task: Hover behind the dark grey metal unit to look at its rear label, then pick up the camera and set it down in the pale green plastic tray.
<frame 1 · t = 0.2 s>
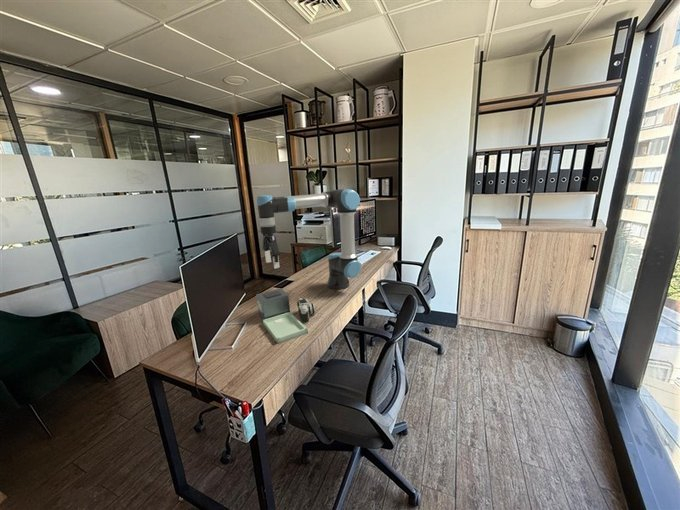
hand: (272, 265, 148), 28 cm above the table, fingers open, 13 cm apart
camera: (307, 316, 149), on the table
unit: (274, 314, 153), on the table
tray: (284, 328, 137), on the table
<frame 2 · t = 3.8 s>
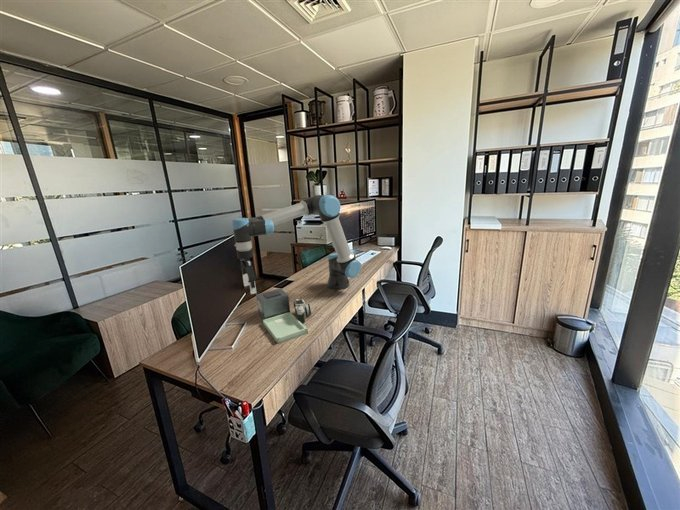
hand: (250, 289, 143), 18 cm above the table, fingers open, 13 cm apart
camera: (303, 317, 148), on the table
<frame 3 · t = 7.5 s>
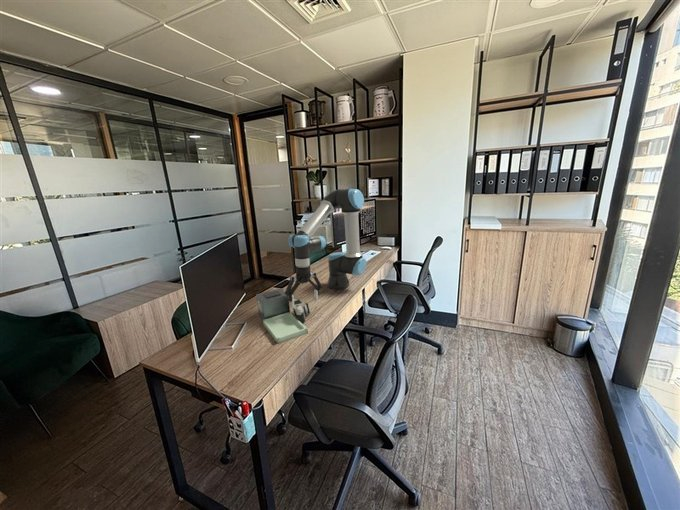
hand: (304, 304, 147), 7 cm above the table, fingers open, 13 cm apart
camera: (302, 317, 148), on the table, touching gripper, tray
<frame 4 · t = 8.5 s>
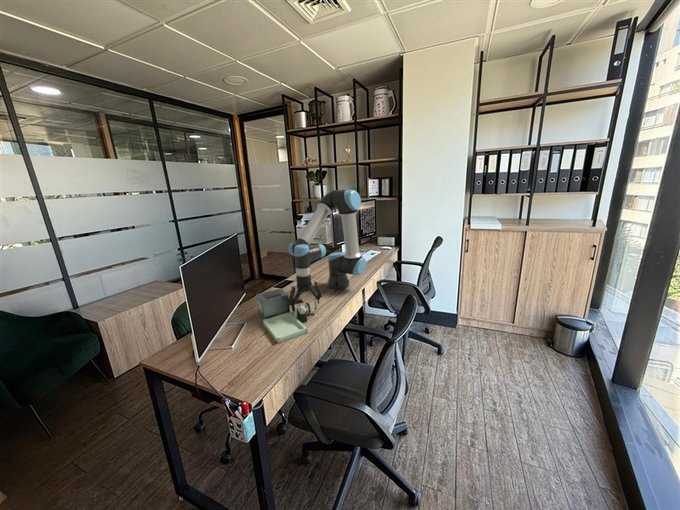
hand: (306, 313, 148), 2 cm above the table, fingers open, 12 cm apart
camera: (303, 317, 149), on the table, touching gripper
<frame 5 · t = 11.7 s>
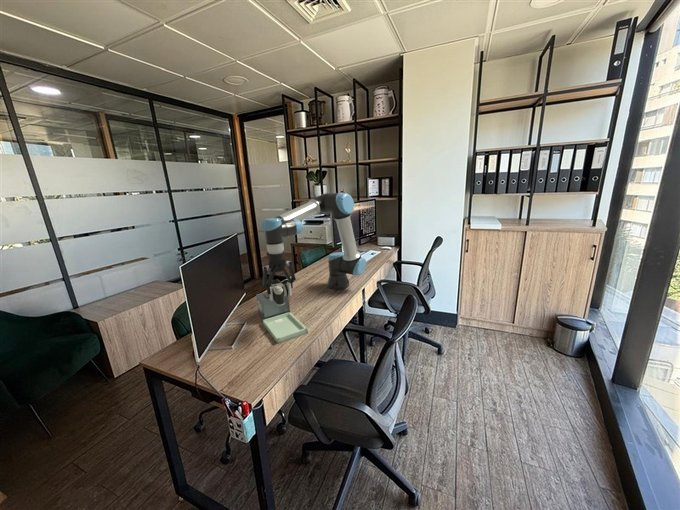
hand: (281, 297, 133), 17 cm above the table, fingers closed on camera, 9 cm apart
camera: (280, 299, 135), point 15 cm above the table, touching gripper
when the fingers open (4 cm above the table, at t = 14.8 s): camera drops 2 cm, resting on tray.
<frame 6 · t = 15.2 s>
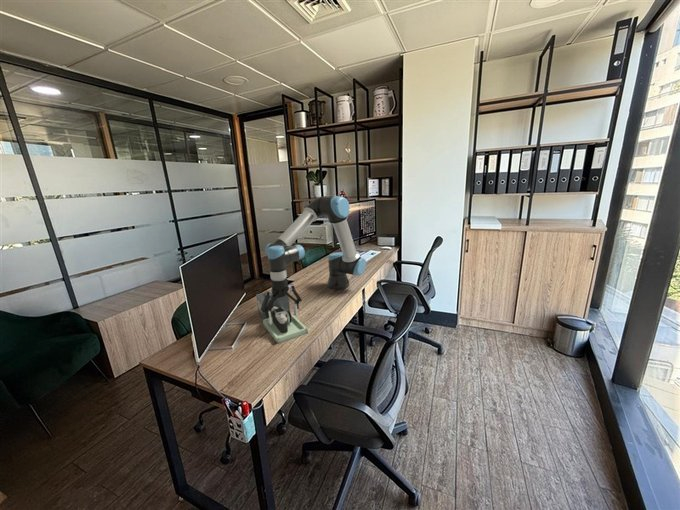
hand: (283, 319, 136), 5 cm above the table, fingers open, 13 cm apart
camera: (283, 326, 138), point 1 cm above the table, touching tray
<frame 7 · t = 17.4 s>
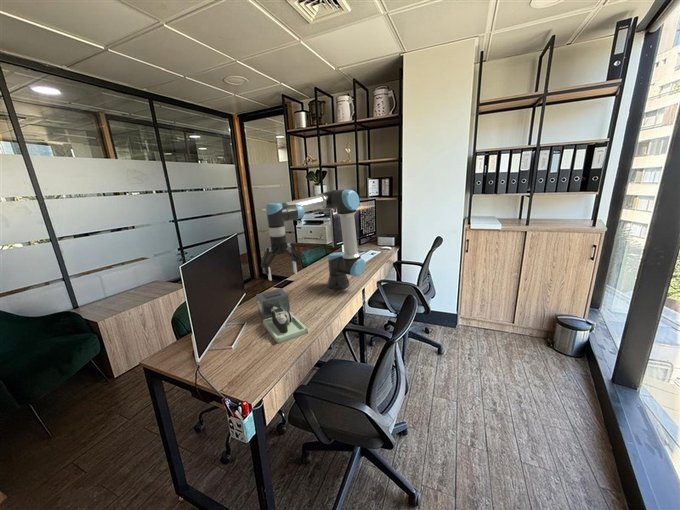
hand: (283, 276, 139), 24 cm above the table, fingers open, 13 cm apart
nothing on the table moved.
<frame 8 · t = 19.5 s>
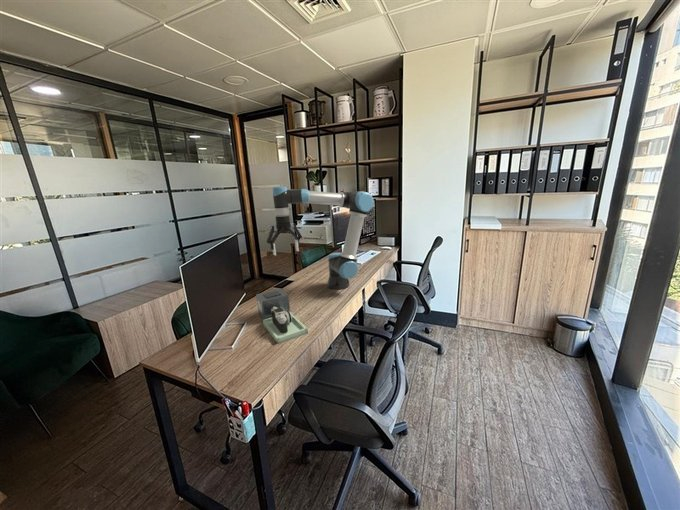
hand: (286, 252, 157), 32 cm above the table, fingers open, 13 cm apart
nothing on the table moved.
at the end: camera inside the target area on the tray (1.2 cm from its centre), point 0.7 cm above the tray's base; the gripper is holding nothing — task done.
